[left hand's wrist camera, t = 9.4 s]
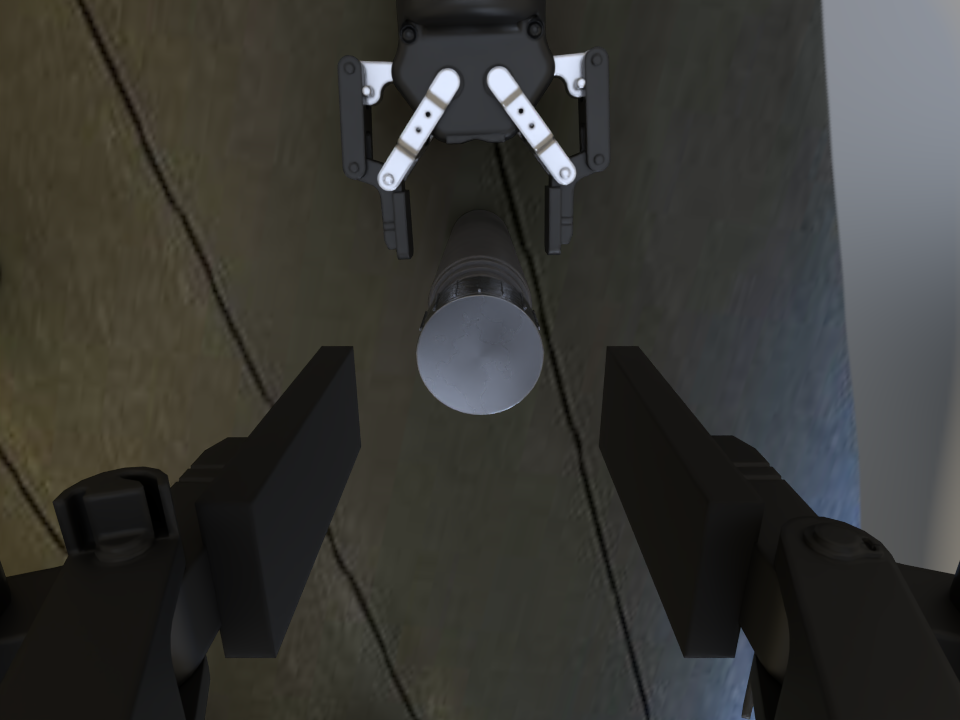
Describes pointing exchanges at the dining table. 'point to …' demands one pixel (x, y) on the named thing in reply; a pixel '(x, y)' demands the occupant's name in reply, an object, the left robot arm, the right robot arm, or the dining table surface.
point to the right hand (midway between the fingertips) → (479, 255)
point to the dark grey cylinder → (480, 254)
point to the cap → (480, 346)
